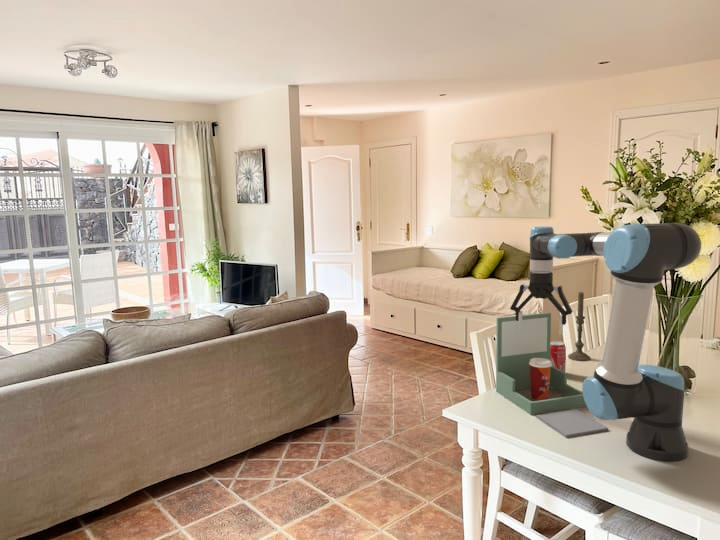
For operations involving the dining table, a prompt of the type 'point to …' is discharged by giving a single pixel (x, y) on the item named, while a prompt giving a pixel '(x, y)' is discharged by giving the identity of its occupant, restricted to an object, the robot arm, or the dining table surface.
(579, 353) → the candlestick holder
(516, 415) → the dining table surface
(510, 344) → the green display box
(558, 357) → the soda can
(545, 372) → the paper cup
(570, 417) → the rubber mat
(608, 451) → the dining table surface
